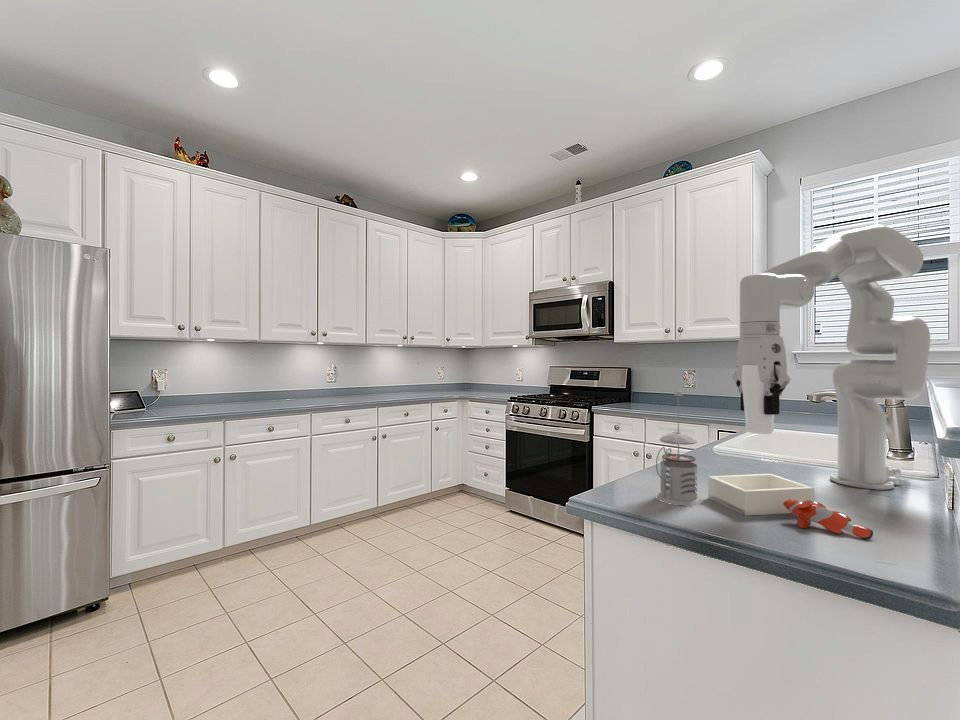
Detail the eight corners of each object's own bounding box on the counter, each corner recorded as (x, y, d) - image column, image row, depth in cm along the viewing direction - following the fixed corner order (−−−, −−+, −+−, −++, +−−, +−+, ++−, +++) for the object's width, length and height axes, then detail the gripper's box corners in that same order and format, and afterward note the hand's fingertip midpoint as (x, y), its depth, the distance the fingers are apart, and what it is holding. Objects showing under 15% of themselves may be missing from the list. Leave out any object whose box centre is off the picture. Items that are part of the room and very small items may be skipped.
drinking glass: (785, 434, 98) (785, 364, 98) (757, 435, 97) (757, 365, 97) (761, 429, 105) (761, 364, 105) (734, 430, 104) (734, 364, 104)
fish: (775, 496, 92) (807, 492, 94) (775, 519, 92) (807, 515, 94) (842, 517, 79) (877, 512, 82) (842, 545, 79) (877, 539, 82)
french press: (711, 501, 104) (711, 391, 103) (678, 510, 98) (678, 393, 98) (673, 490, 112) (673, 388, 112) (641, 498, 106) (641, 390, 106)
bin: (770, 494, 108) (770, 473, 108) (814, 511, 96) (814, 488, 96) (708, 497, 106) (708, 476, 106) (745, 515, 94) (745, 491, 94)
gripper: (807, 328, 93) (807, 417, 93) (746, 333, 110) (746, 407, 110) (774, 328, 92) (774, 418, 92) (718, 333, 109) (718, 408, 109)
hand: (759, 411), depth 101 cm, fingers closed on drinking glass, 6 cm apart
